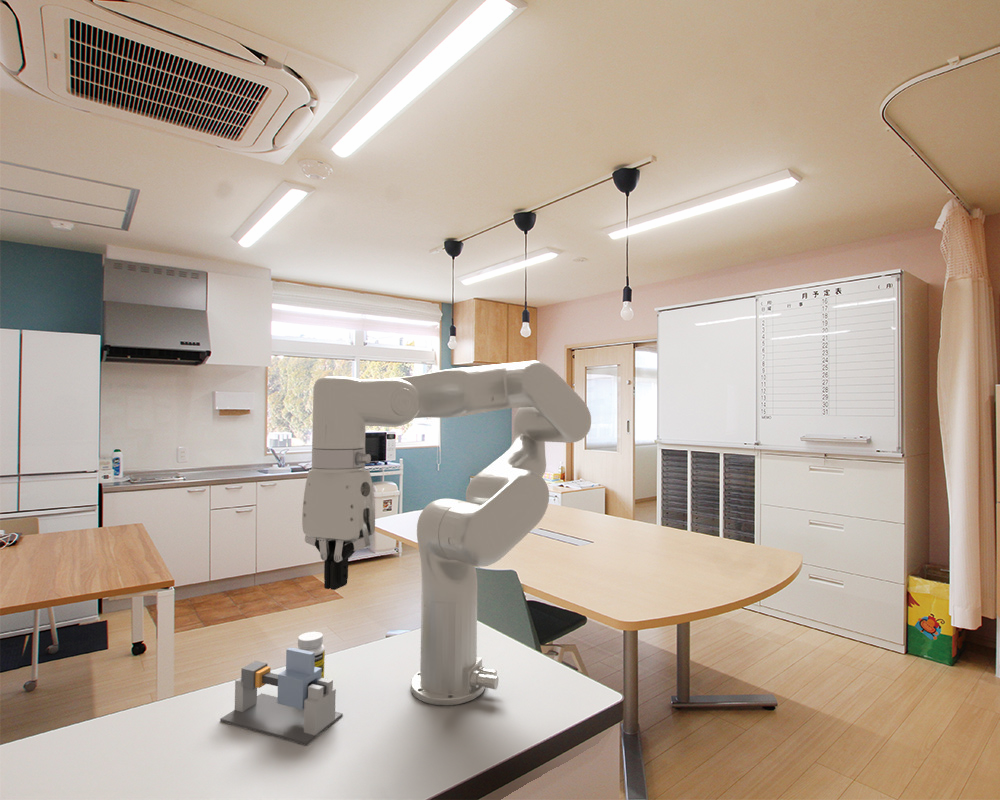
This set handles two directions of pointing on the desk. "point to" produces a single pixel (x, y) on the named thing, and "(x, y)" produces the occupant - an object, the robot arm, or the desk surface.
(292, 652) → the light blue step block
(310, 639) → the supplement bottle
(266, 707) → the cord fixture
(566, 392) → the robot arm
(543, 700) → the desk surface
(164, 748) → the desk surface
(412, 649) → the desk surface
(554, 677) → the desk surface
